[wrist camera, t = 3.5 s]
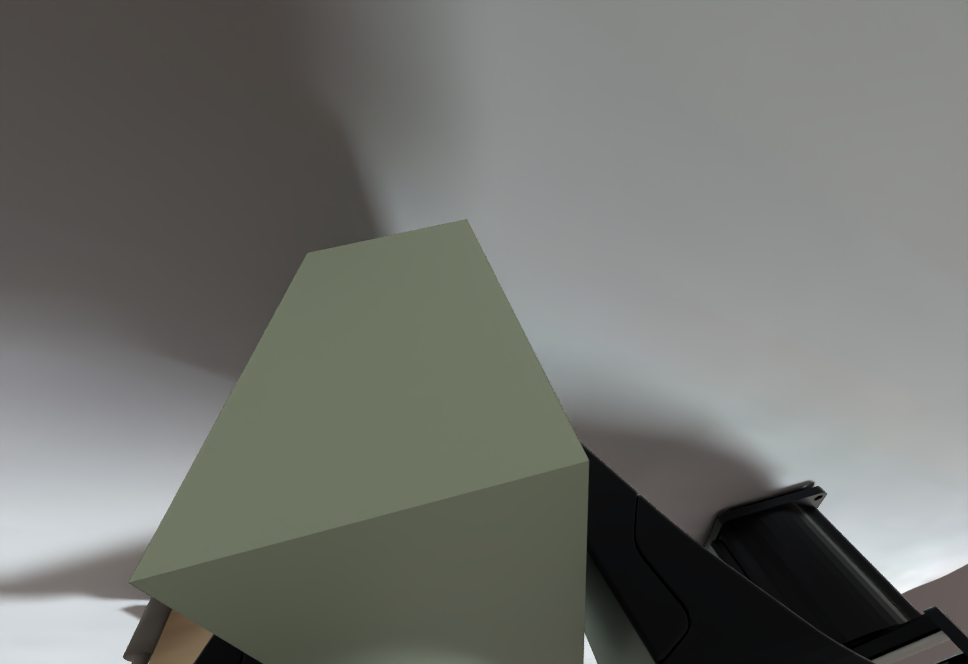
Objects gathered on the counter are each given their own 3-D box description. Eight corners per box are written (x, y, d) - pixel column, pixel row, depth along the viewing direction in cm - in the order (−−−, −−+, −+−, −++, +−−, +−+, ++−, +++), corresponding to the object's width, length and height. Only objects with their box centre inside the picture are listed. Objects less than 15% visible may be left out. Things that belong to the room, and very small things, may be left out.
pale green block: (467, 219, 7) (588, 460, 3) (510, 470, 12) (581, 714, 7) (263, 262, 7) (-11, 620, 2) (390, 501, 11) (385, 776, 7)
